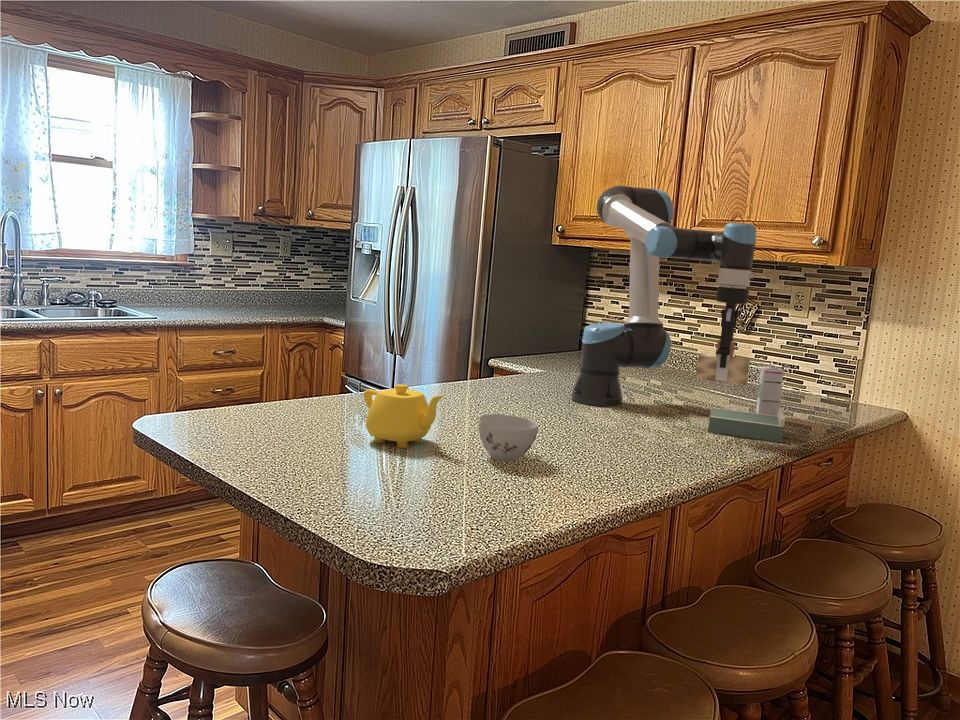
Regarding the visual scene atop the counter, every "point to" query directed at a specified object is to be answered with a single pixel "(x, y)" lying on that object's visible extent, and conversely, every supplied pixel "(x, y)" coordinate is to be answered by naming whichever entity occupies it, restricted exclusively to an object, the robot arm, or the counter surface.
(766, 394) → the syrup box
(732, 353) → the orange cube
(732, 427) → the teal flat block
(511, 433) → the teacup
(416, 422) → the teapot
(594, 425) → the counter surface
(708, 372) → the tan rectangular block
